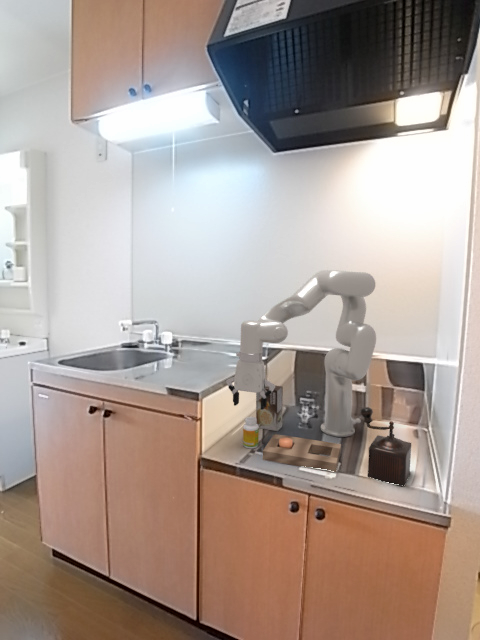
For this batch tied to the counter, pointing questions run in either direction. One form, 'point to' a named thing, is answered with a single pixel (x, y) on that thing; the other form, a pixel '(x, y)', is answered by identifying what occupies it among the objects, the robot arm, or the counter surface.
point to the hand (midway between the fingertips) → (249, 406)
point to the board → (303, 453)
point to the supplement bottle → (250, 433)
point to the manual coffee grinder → (387, 454)
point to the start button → (285, 443)
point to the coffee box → (270, 410)
